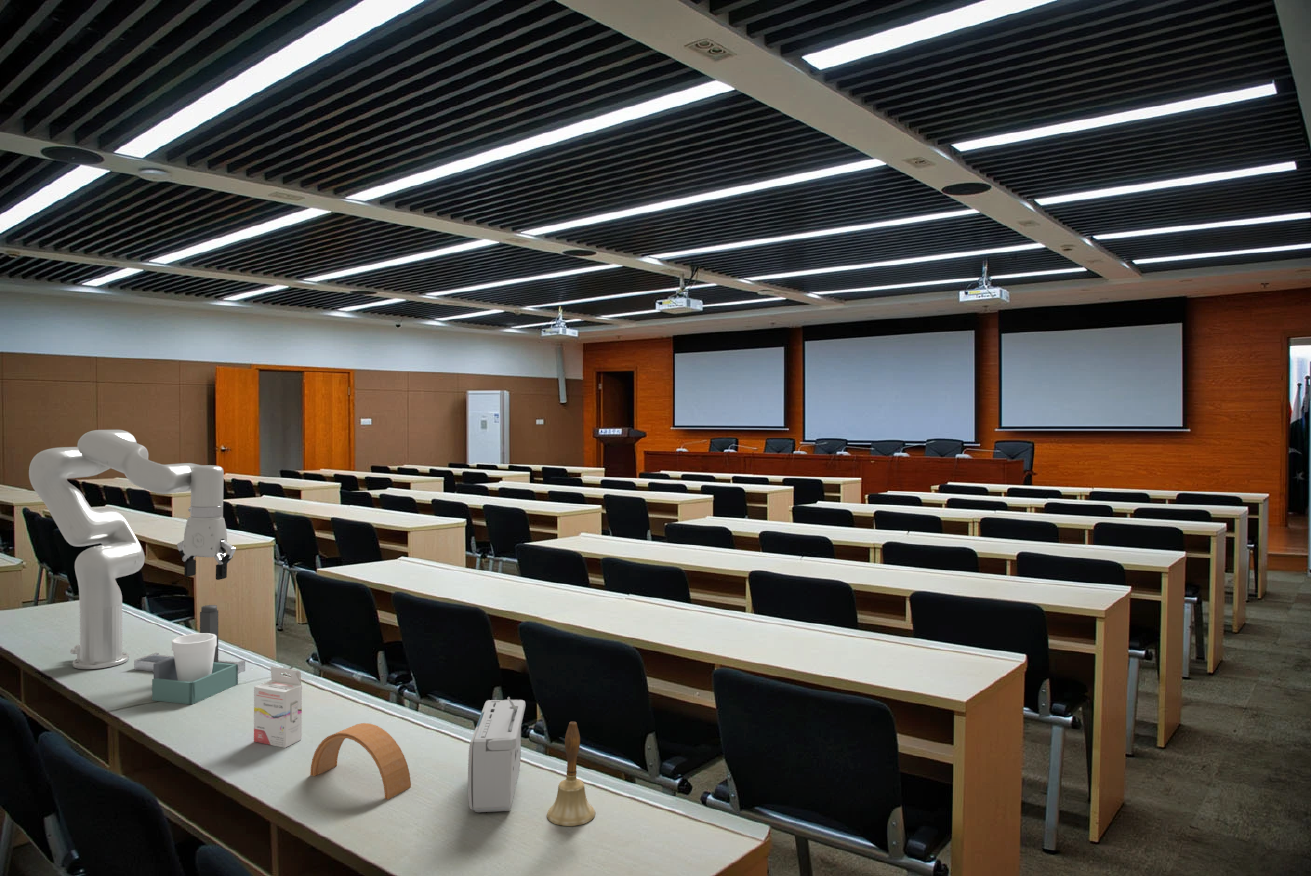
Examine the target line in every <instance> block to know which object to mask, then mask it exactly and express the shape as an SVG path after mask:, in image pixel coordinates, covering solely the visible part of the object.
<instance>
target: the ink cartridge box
mask: <svg viewBox="0 0 1311 876" xmlns="http://www.w3.org/2000/svg"><path fill="white" fill-rule="evenodd" d="M285 673H286V674H287V675H290V676H285V675H284V676H283V675H282V674H285ZM270 678H271V679H270V680H267V681H266V682H265V681H264V682H263V683H261V684H258V685H255V686H254V687H253V689H254V690H253V691H254V692H253V742H254V743H258V744H259V743H260V744H264V745H268V746H273V747H277V748H283V749H285V748H288V747H290V746H292V745H293V744H296V743H298V742H300V741H301V740H302V735H303V733H302V729H303V720H302V719H303V711H302V710H303V686H302V673H301V671H300V670H298V669H297V670H296V669H290V668H286V667H277V666H271V667H270Z"/></svg>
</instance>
